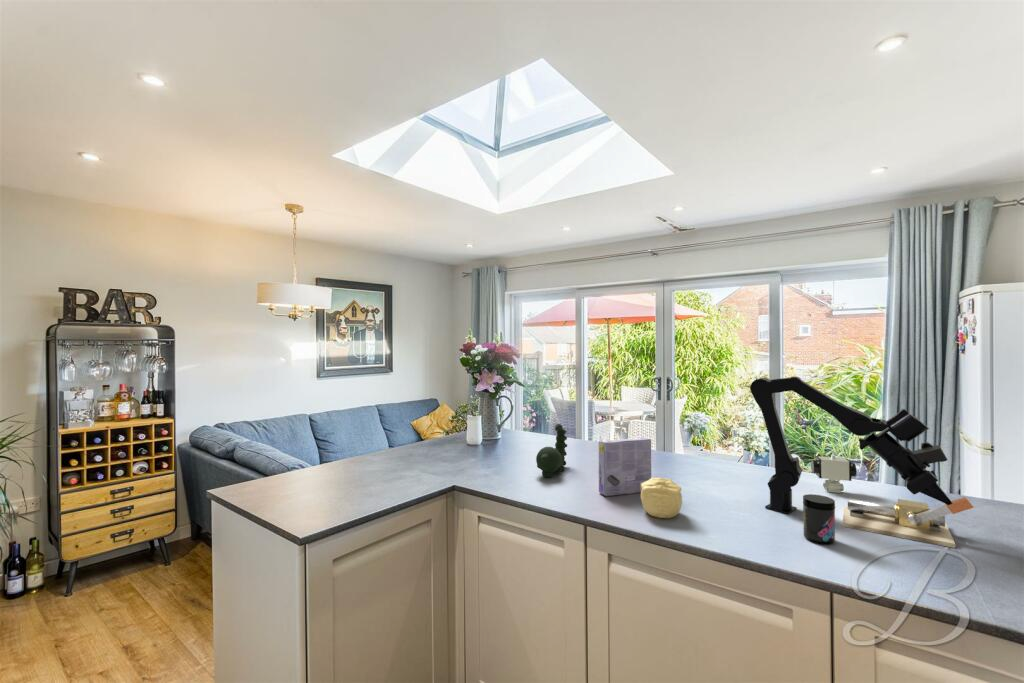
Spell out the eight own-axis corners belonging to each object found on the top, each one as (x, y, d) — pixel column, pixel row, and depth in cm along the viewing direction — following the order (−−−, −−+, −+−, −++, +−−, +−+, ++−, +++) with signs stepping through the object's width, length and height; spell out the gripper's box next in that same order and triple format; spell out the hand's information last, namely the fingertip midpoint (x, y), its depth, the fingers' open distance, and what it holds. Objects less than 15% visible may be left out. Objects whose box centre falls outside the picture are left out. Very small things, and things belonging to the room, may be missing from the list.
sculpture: (639, 519, 129) (639, 481, 129) (642, 505, 141) (642, 470, 141) (682, 524, 125) (682, 485, 125) (682, 509, 137) (681, 473, 137)
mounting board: (842, 526, 123) (842, 522, 123) (844, 509, 135) (844, 506, 135) (955, 548, 110) (955, 543, 110) (946, 527, 122) (946, 523, 122)
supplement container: (813, 545, 112) (812, 503, 112) (797, 533, 119) (797, 494, 119) (841, 546, 111) (841, 503, 111) (824, 534, 118) (824, 494, 118)
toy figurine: (550, 468, 188) (529, 479, 165) (551, 421, 190) (530, 427, 167) (572, 470, 185) (554, 482, 162) (573, 423, 186) (555, 428, 163)
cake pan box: (646, 486, 158) (645, 435, 158) (655, 490, 154) (654, 438, 154) (597, 492, 152) (596, 440, 152) (605, 497, 148) (604, 443, 148)
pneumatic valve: (857, 496, 146) (856, 458, 146) (814, 491, 151) (813, 455, 151) (851, 490, 151) (851, 454, 151) (810, 486, 156) (810, 451, 156)
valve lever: (905, 517, 118) (965, 497, 111) (904, 515, 120) (964, 495, 113) (913, 528, 117) (974, 508, 110) (912, 525, 119) (973, 506, 112)
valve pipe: (847, 516, 128) (847, 496, 128) (848, 510, 132) (848, 491, 132) (945, 533, 115) (945, 511, 115) (942, 527, 119) (942, 505, 119)
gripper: (925, 440, 110) (990, 495, 103) (917, 428, 124) (974, 475, 118) (883, 467, 114) (943, 521, 108) (880, 452, 129) (933, 499, 123)
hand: (949, 503), depth 114 cm, fingers closed, pressing on valve lever
